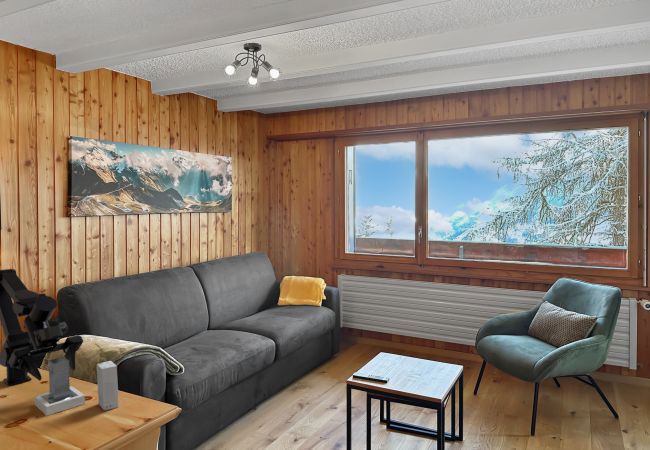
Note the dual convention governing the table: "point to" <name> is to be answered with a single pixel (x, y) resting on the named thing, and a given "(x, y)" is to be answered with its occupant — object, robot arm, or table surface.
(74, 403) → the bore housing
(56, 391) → the end cover
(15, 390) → the table surface
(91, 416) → the table surface
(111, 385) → the skincare box
